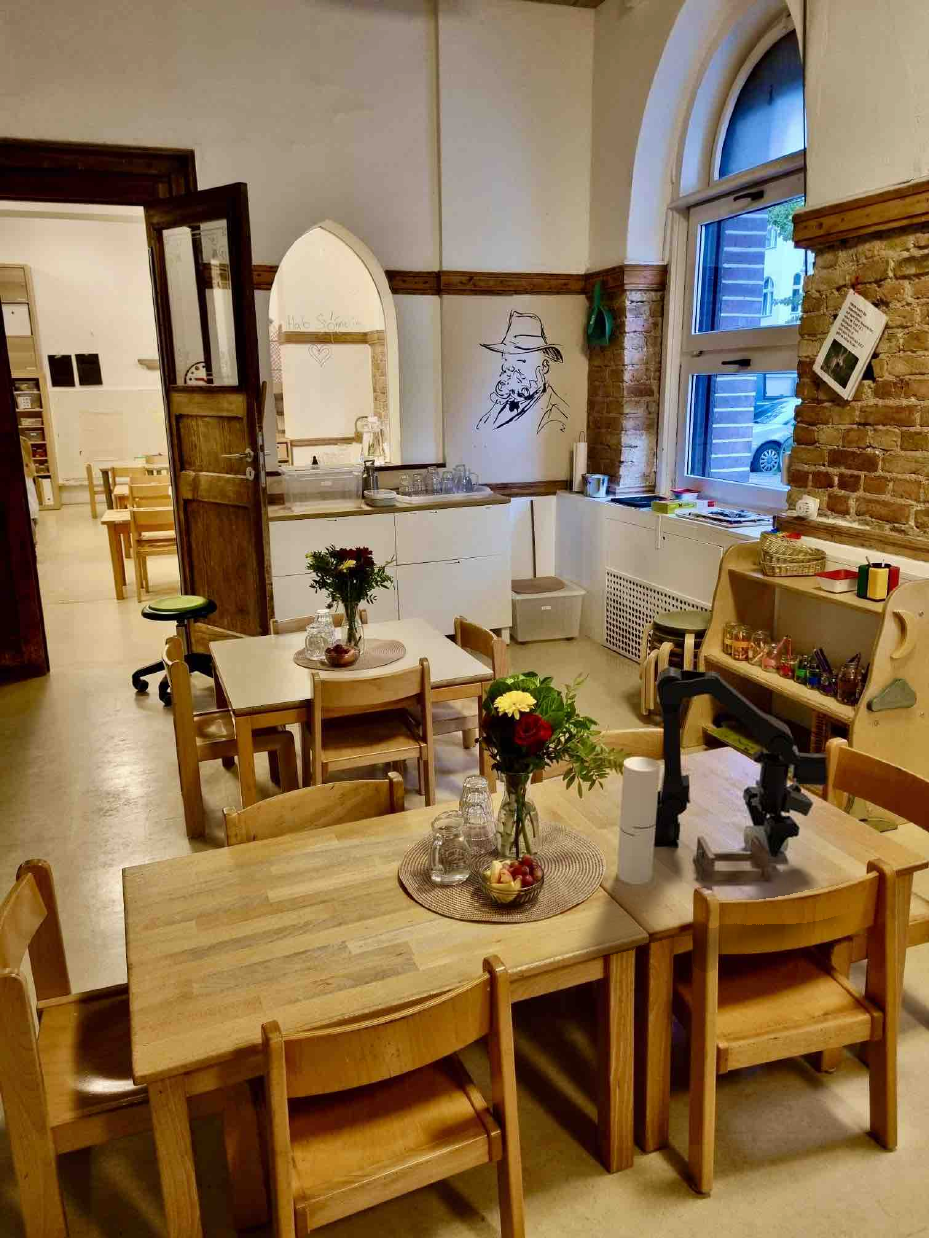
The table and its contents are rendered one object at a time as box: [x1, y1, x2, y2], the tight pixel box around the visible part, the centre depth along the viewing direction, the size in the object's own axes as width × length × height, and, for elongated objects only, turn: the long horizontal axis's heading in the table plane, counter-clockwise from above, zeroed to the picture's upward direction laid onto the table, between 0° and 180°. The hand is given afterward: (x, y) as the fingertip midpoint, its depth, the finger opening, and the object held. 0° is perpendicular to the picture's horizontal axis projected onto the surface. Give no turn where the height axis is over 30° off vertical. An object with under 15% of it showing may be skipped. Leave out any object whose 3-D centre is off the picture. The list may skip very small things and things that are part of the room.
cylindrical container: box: [616, 756, 661, 885], centre depth 187 cm, size 7×7×25 cm
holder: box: [692, 835, 773, 883], centre depth 192 cm, size 15×9×6 cm, turn 91°
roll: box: [743, 825, 790, 853], centre depth 201 cm, size 9×6×6 cm, turn 91°
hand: (766, 846), depth 201 cm, fingers open, 9 cm apart
